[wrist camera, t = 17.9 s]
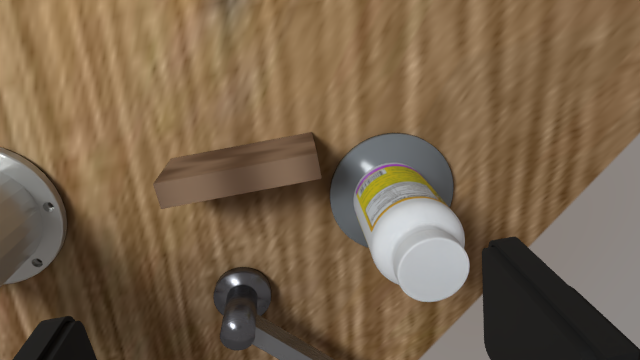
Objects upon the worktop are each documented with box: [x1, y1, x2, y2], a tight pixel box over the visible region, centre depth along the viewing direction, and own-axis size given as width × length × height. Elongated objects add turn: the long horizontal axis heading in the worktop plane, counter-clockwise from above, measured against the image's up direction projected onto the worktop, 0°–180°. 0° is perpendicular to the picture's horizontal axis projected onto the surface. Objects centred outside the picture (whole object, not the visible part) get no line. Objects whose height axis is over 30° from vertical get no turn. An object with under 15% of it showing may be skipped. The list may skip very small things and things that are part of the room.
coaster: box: [330, 133, 453, 248], centre depth 42 cm, size 11×11×1 cm
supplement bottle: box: [353, 163, 469, 302], centre depth 36 cm, size 7×7×13 cm
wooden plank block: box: [153, 132, 322, 209], centre depth 37 cm, size 12×2×6 cm, turn 100°
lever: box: [214, 267, 334, 360], centre depth 43 cm, size 18×5×7 cm, turn 52°
